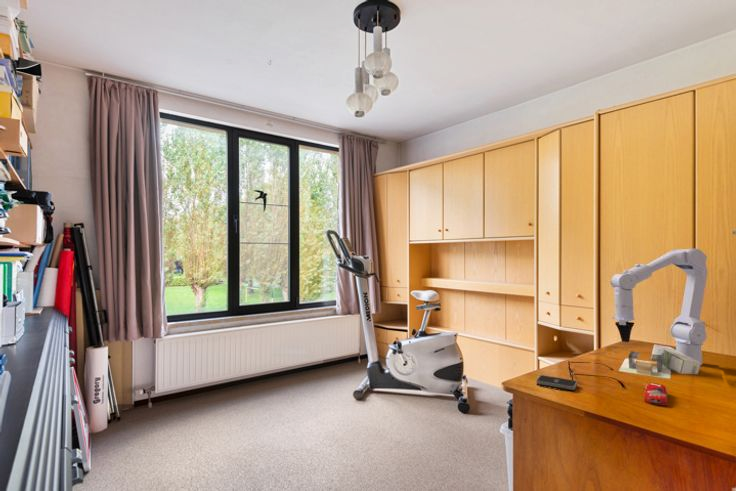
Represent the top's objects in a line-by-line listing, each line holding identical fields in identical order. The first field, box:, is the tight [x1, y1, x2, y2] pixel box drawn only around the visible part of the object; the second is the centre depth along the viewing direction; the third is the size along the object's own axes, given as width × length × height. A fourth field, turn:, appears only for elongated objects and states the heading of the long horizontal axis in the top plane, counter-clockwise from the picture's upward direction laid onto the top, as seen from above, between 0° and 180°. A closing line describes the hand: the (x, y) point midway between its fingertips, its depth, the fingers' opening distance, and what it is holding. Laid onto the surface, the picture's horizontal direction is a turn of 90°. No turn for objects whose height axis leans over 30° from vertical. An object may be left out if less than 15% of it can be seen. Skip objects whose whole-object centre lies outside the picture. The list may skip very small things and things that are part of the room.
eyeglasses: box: [567, 360, 626, 388], centre depth 126 cm, size 16×16×4 cm
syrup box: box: [650, 344, 701, 375], centre depth 131 cm, size 6×6×14 cm
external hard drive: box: [536, 374, 578, 393], centre depth 119 cm, size 7×11×2 cm, turn 53°
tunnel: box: [628, 351, 662, 373], centre depth 132 cm, size 8×9×4 cm
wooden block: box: [635, 361, 653, 376], centre depth 127 cm, size 5×4×3 cm
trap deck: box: [618, 358, 672, 380], centre depth 132 cm, size 20×14×2 cm
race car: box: [643, 382, 669, 407], centre depth 107 cm, size 13×5×4 cm, turn 139°
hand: (625, 341), depth 138 cm, fingers closed
